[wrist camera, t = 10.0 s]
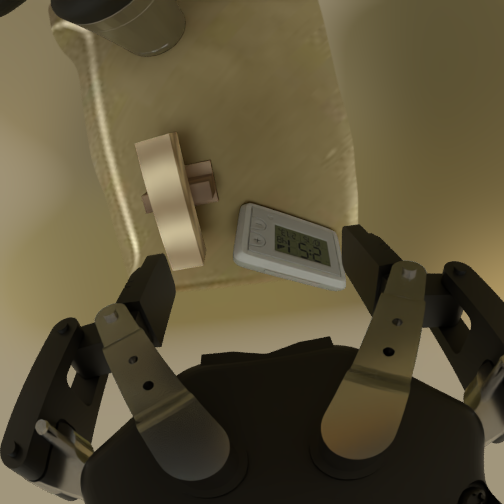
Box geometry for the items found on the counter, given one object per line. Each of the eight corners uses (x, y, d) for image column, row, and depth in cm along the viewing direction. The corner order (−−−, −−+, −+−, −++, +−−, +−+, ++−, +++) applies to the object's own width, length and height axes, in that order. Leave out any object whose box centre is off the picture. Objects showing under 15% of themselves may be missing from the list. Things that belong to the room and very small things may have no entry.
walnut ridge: (150, 173, 37) (137, 183, 32) (210, 160, 37) (205, 166, 31) (160, 211, 40) (150, 225, 35) (218, 199, 39) (215, 212, 34)
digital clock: (340, 233, 43) (365, 266, 34) (308, 275, 46) (325, 315, 37) (254, 182, 39) (260, 204, 29) (224, 232, 42) (220, 268, 33)
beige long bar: (145, 140, 29) (134, 143, 26) (176, 131, 29) (168, 133, 26) (178, 255, 37) (172, 270, 33) (206, 250, 37) (203, 265, 33)
